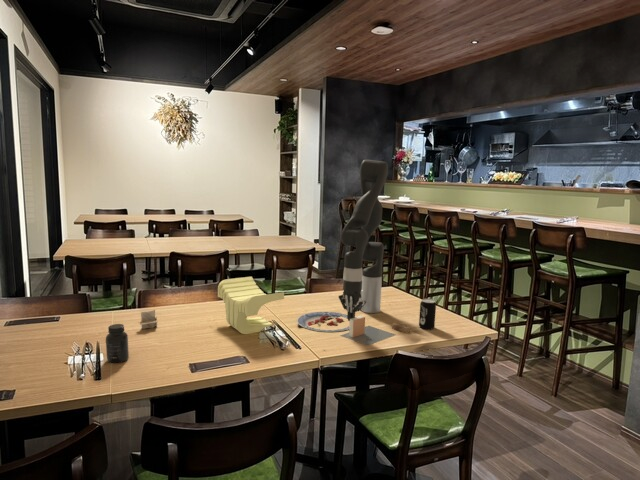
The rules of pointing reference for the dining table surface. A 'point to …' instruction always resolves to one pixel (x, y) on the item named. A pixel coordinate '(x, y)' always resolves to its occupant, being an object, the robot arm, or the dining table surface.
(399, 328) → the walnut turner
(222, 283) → the slatted curved stool
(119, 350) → the supplement bottle
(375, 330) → the slate board
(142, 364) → the dining table surface
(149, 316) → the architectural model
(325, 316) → the ceramic plate
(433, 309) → the beverage can
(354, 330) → the tile
